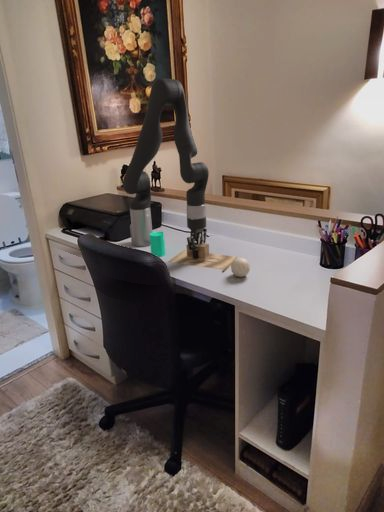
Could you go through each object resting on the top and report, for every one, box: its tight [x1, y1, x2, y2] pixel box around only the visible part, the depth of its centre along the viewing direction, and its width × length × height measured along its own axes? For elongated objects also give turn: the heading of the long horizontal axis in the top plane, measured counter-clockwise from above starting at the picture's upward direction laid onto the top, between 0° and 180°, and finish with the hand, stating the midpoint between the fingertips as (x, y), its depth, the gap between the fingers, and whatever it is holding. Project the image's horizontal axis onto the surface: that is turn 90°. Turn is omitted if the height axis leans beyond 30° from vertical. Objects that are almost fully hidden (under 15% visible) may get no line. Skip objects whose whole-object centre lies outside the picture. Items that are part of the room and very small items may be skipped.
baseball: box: [230, 257, 251, 278], centre depth 138 cm, size 7×7×7 cm
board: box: [168, 249, 237, 273], centre depth 154 cm, size 24×14×1 cm, turn 64°
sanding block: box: [185, 242, 210, 261], centre depth 154 cm, size 8×4×6 cm, turn 64°
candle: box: [149, 229, 166, 258], centre depth 160 cm, size 6×6×12 cm
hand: (198, 256), depth 154 cm, fingers closed on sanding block, 4 cm apart
